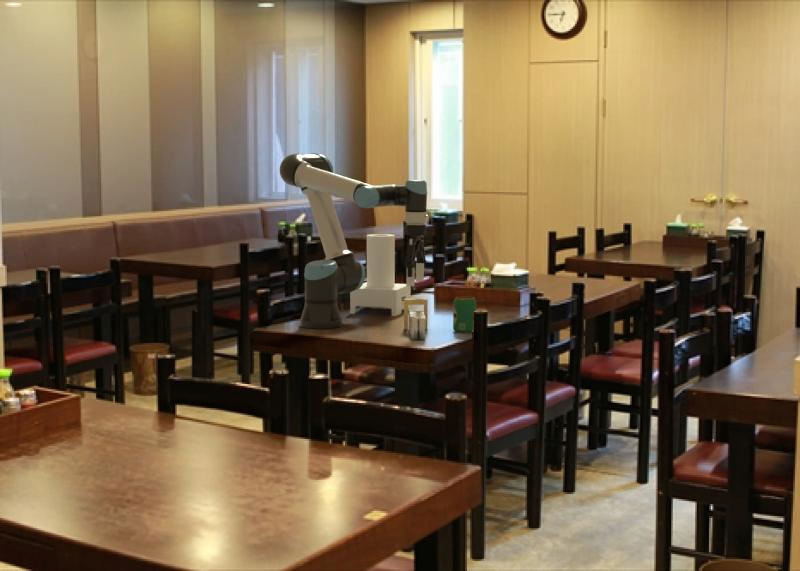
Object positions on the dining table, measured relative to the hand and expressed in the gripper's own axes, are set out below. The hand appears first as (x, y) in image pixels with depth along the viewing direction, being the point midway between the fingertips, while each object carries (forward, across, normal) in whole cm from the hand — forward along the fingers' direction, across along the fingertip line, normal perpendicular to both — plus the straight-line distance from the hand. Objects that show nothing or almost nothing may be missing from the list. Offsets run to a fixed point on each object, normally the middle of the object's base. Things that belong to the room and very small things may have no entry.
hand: (415, 283), depth 406 cm
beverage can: (+16, 0, -18) cm, 24 cm away
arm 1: (+16, -13, -3) cm, 21 cm away
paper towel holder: (+17, +38, +23) cm, 47 cm away
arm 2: (+16, -12, -5) cm, 21 cm away
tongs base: (+16, -1, -1) cm, 16 cm away
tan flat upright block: (+16, 0, -1) cm, 16 cm away
